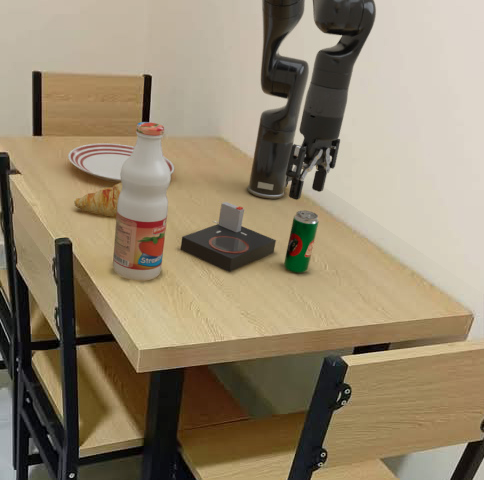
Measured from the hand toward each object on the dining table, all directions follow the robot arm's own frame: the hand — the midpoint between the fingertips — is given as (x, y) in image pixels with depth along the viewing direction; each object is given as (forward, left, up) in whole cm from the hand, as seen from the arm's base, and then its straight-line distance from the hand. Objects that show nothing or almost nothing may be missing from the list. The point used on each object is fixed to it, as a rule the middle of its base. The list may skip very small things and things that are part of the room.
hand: (305, 194), depth 145 cm
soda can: (0, +1, -16) cm, 16 cm away
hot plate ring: (+8, -11, -13) cm, 19 cm away
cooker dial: (0, -16, -13) cm, 21 cm away
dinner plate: (-12, -61, -16) cm, 64 cm away
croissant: (+8, -42, -16) cm, 46 cm away
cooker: (+5, -13, -16) cm, 21 cm away
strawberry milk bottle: (+28, -18, -16) cm, 37 cm away
